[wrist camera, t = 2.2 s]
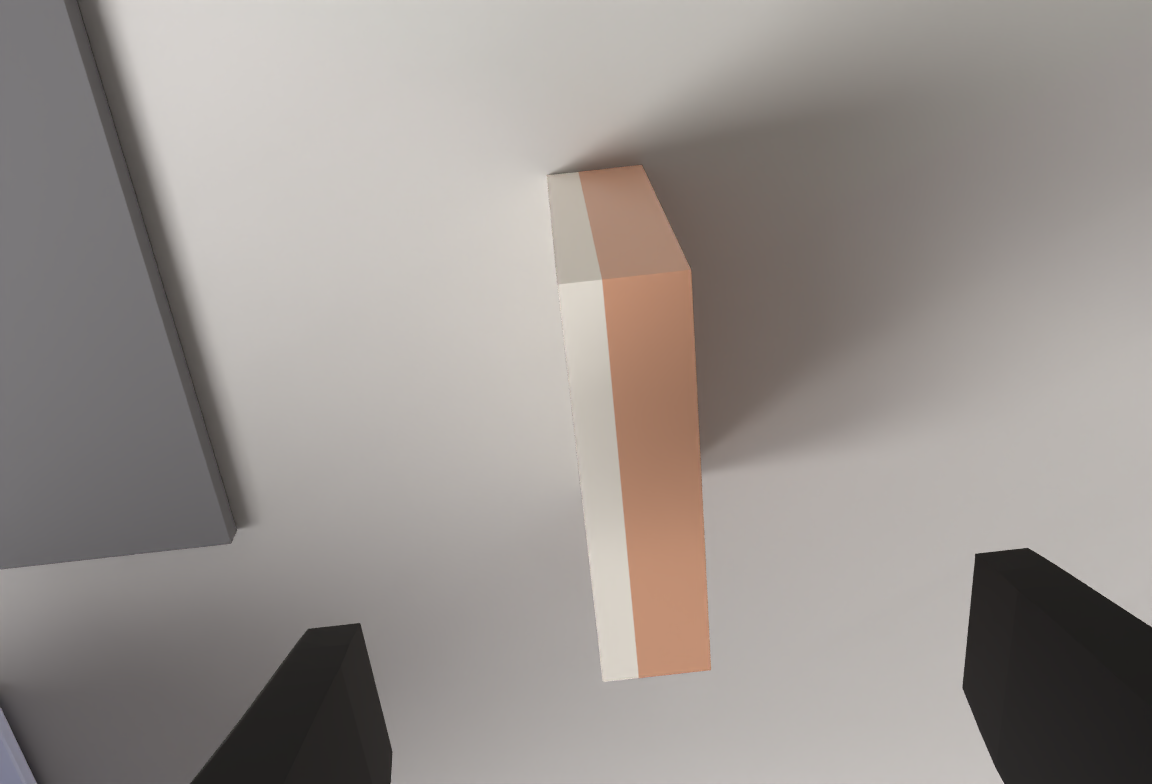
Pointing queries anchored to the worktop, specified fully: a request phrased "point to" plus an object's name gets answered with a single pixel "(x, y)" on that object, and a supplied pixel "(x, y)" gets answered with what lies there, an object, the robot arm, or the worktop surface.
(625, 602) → the tile
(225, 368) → the worktop surface
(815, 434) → the worktop surface
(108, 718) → the worktop surface
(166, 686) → the worktop surface
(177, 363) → the mat
